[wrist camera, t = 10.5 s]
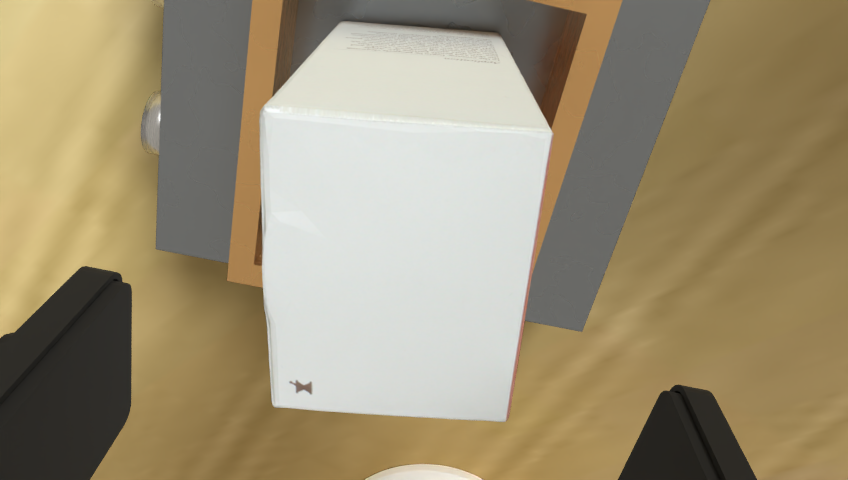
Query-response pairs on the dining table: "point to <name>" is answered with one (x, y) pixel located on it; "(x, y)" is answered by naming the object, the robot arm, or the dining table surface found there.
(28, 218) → the dining table surface
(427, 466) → the decorative vase
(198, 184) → the frame
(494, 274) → the small box
